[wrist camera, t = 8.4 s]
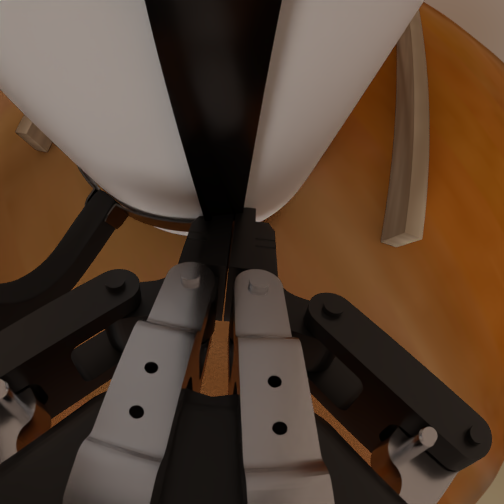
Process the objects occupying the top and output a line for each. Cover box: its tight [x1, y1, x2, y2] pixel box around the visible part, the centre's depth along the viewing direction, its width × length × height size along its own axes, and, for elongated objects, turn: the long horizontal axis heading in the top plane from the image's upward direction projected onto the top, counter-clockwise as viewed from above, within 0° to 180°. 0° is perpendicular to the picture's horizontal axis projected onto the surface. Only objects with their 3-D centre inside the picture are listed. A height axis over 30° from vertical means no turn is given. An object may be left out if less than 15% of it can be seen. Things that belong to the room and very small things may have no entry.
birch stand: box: [15, 9, 429, 247], centre depth 18 cm, size 25×24×3 cm
